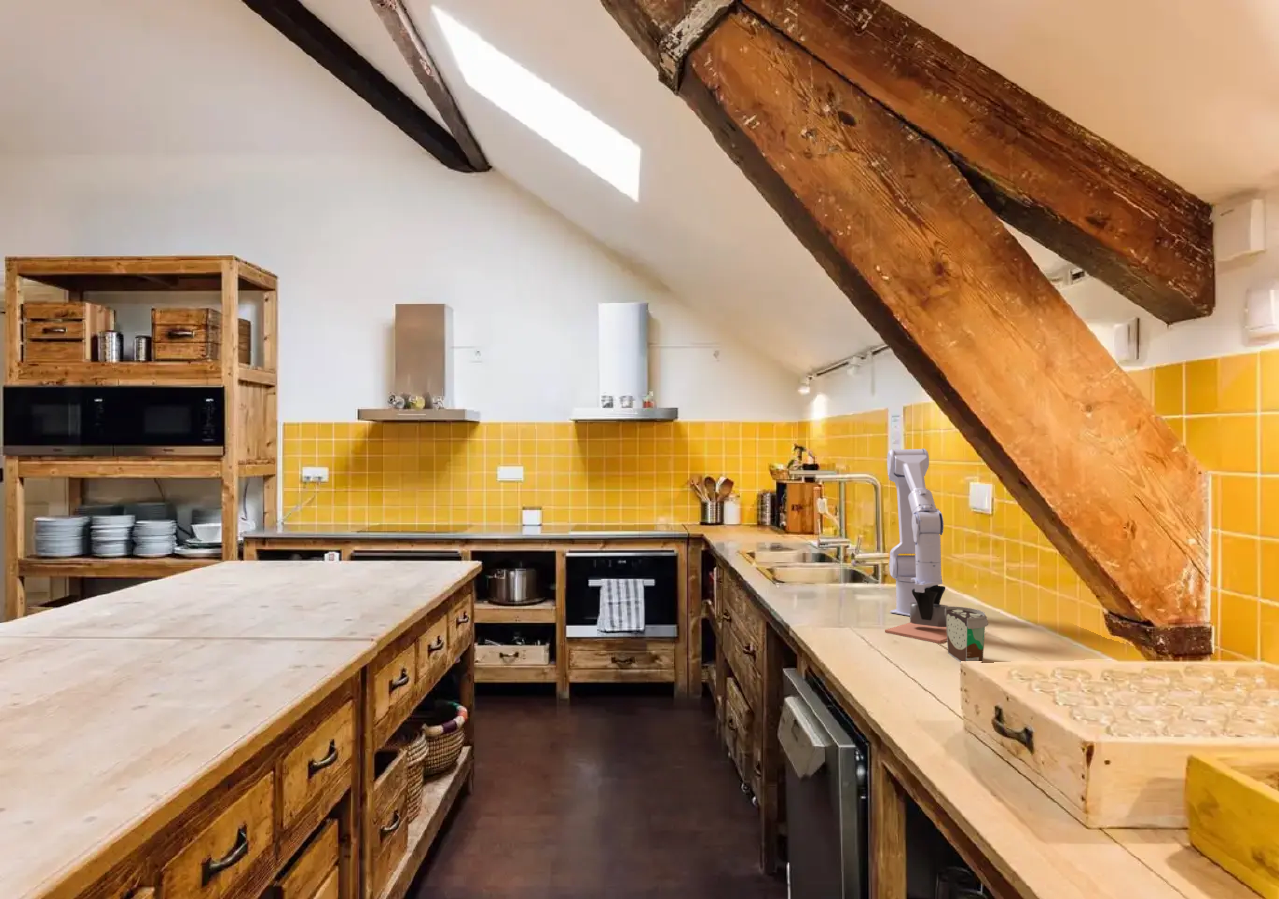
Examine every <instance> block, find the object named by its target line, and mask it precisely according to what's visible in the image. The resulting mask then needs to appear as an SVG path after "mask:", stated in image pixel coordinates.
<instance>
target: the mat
mask: <svg viewBox="0 0 1279 899" xmlns="http://www.w3.org/2000/svg"><path fill="white" fill-rule="evenodd" d="M884 633H887V634H891V635H897V636H902V637H906V638H911V639H917V640H921V641H927V642H930V643H937V644H941V643H945V642H947V628H946V627H936V626H928V625H920V624H913V623H911V622H907V623H904V624H900V625H897V626H892V627H890V628H887V629H884Z"/></svg>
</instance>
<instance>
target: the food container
mask: <svg viewBox="0 0 1279 899" xmlns="http://www.w3.org/2000/svg"><path fill="white" fill-rule="evenodd" d="M945 616H946V628H947V641H946V642H947V654H948V655H949V656H951V657H952V658H954V659H955V660H957V661H958V662H959V663H961V661H983V662H984V648H985V647H984V645H985V632H986V630H985V629H986V627H988V626H989V621H988V616H987V615H986V613H985V612H984V611H982V610H979V609H976V608H971V607H963V606H949V605H947V606H945Z"/></svg>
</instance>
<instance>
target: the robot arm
mask: <svg viewBox="0 0 1279 899" xmlns="http://www.w3.org/2000/svg"><path fill="white" fill-rule="evenodd" d="M886 458H887V460H886V463H887V464H886V465H887V476H888V481H891V482H893V483H894V484H895V487H896V496H897V513H898V514H897V515H898V516H897V517H898V532H899V543H898V544H896V545H894V546H893V547H892V548H891V549H890V551H889V560H888V561H889V562H888V568H889V574H890V576H891V577H892V579H895V594H896V595H895V596H896V597H895V598H896V599H895V600H896V603H895V604H896V608H895V609H891V610H889V613H891V614H896V615H903V616H908V617H910V603H912V602H917V604H918V607H919V611H920V615H921V619H923V620H931V618H932V613H933V605H934V604H940V603H941V599H942V598H943V595H944V592H945V590H946V586H944V585H942V584H943V576H942V554H941V553H942V552H941V551H942V550H941V548H942V547H941V546H942V545H941V536H942V535H943V533H944V528H945V527H944V525H945V524H944V517H943V513H942V512H941V511H940V509H939V508H937V507H936V504H935V500H934V497H933V494H932V491H931V490H930V489H928V488H926V481H925V476H926V474H927V471H928V470H929V466H930V456H929V452H928V450H927V449H926V448H914V449H913V448H910V449H909V448H907V449H893V448H891V449H889V450H888V452H887V457H886ZM902 554H903V555H902ZM905 554H906V555H905ZM910 554H911V555H910ZM940 605H941V604H940Z"/></svg>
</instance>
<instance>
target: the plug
mask: <svg viewBox="0 0 1279 899" xmlns="http://www.w3.org/2000/svg"><path fill="white" fill-rule="evenodd" d="M945 606H948V605H946V604H934V605H933V613H932V618H931V620H923V619H921V615H920V611H919V607H918V604H917V602H912V603H910V616H909V621H910V622H911V623H913V624H920V625H928V626H936V627H946V616H945ZM910 622H909V623H910Z"/></svg>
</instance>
